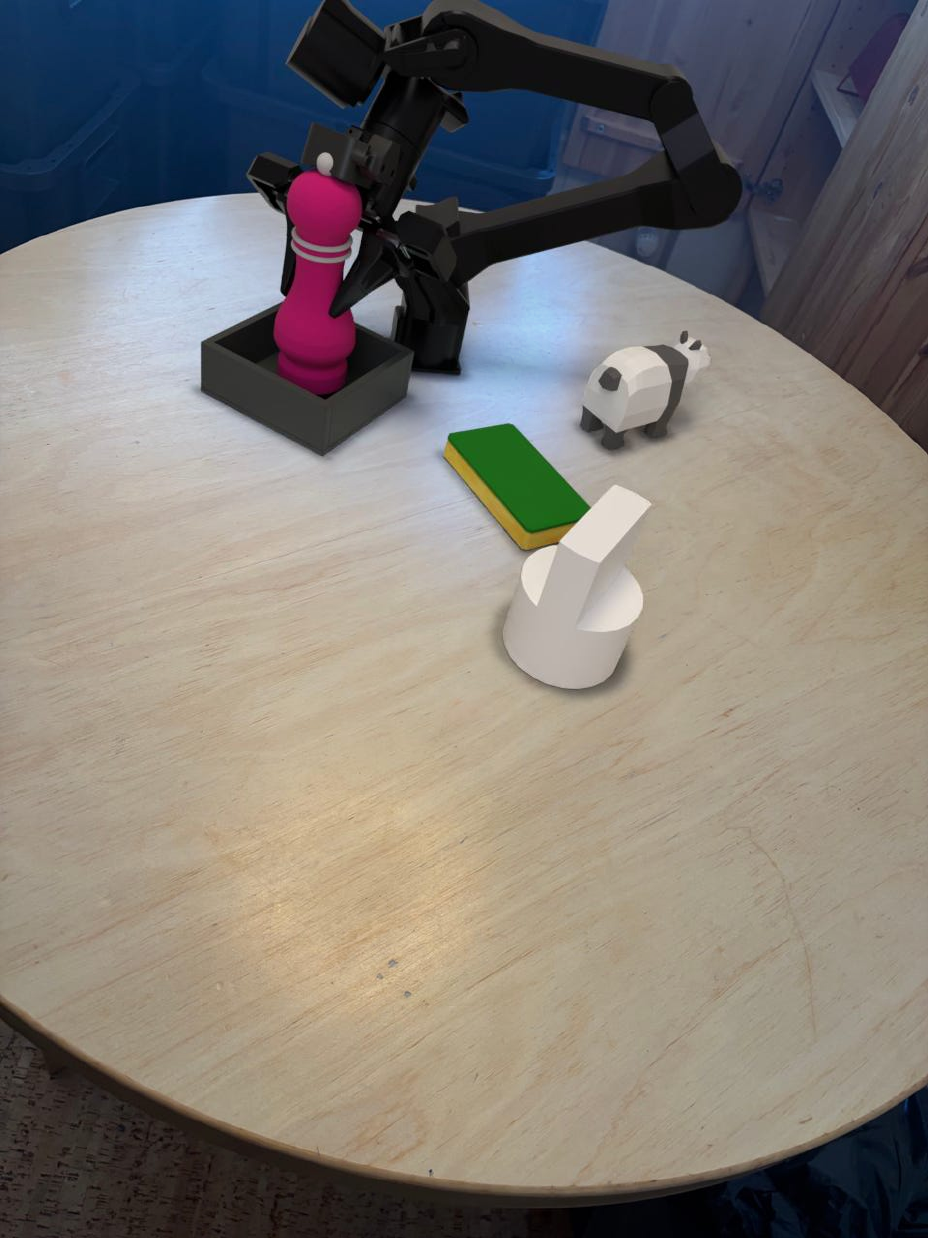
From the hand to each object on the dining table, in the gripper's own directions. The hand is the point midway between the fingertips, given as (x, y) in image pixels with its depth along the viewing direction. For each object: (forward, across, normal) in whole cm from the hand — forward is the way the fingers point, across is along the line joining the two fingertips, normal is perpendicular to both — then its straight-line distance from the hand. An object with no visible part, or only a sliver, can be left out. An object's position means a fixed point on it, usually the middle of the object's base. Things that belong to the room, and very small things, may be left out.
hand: (307, 305), depth 81 cm
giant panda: (-7, +26, +21) cm, 35 cm away
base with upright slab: (+16, +33, -2) cm, 37 cm away
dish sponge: (+6, +22, +8) cm, 24 cm away
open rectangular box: (+6, 0, +8) cm, 10 cm away
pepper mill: (+4, 0, +6) cm, 8 cm away
